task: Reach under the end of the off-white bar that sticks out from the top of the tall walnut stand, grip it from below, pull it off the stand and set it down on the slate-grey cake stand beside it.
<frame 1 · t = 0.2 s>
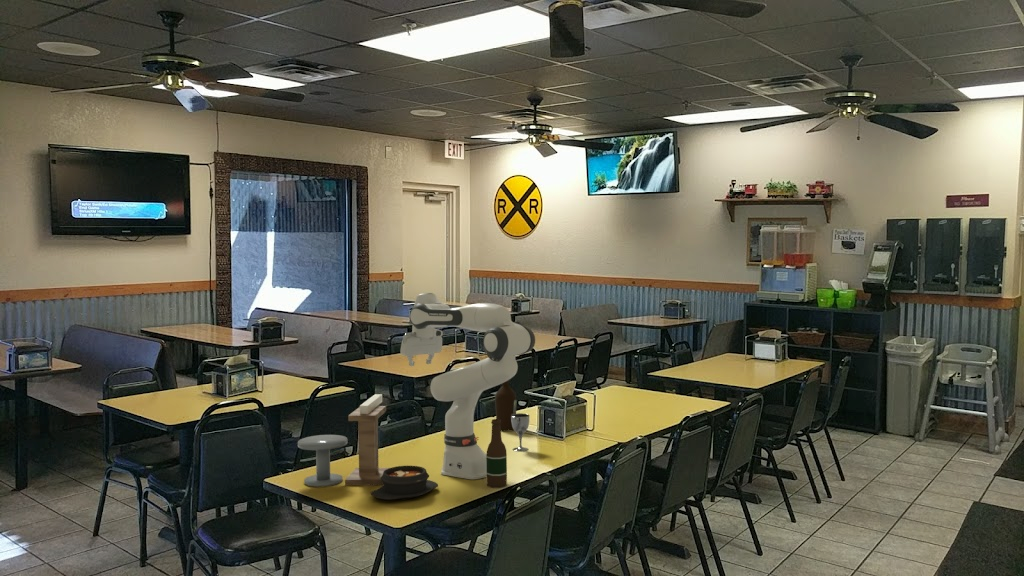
hand: (420, 364, 305), 40 cm above the table, tool pointing down, fingers open, 8 cm apart
bar: (371, 407, 285), point 26 cm above the table, touching walnut stand
casserole: (405, 495, 260), on the table
cake stand: (323, 481, 277), on the table
wine glass: (520, 449, 321), on the table
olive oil: (506, 429, 361), on the table
walnut stand: (369, 478, 280), on the table
beer bottle: (496, 485, 270), on the table
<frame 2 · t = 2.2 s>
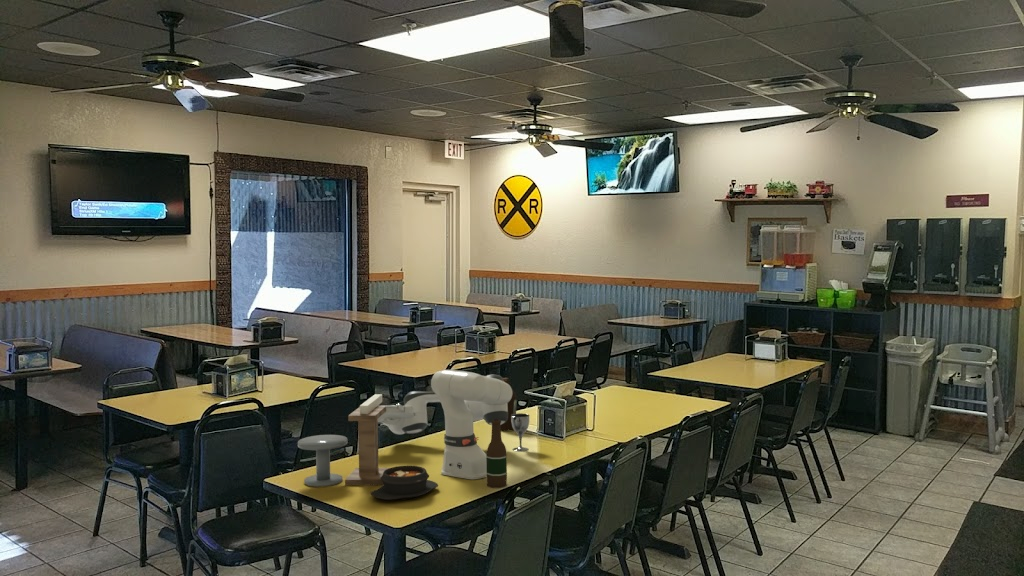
hand: (387, 405, 312), 21 cm above the table, tool pointing upward, fingers open, 8 cm apart
nothing on the table moved.
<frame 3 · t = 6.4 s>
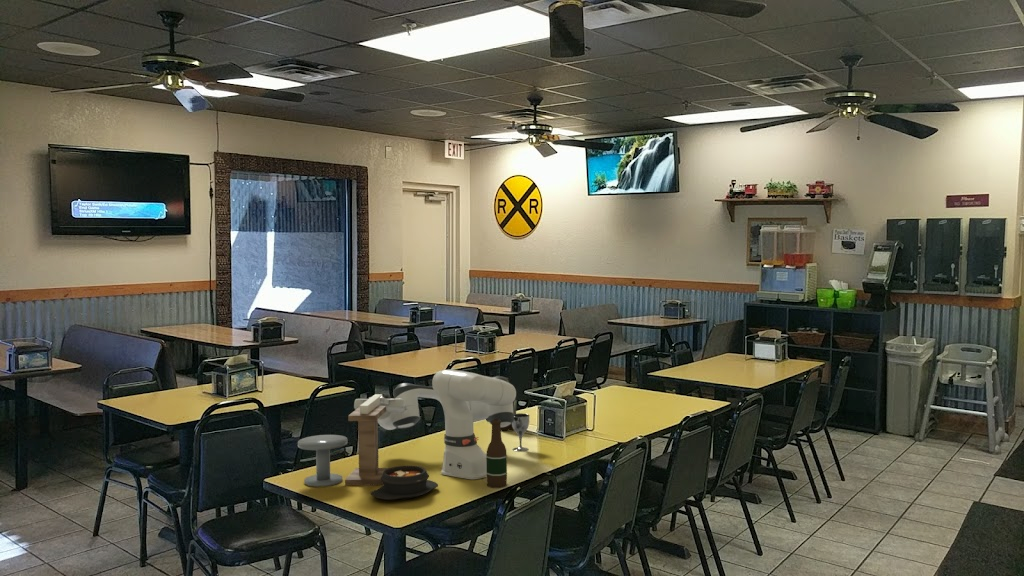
hand: (376, 398, 292), 28 cm above the table, tool pointing upward, fingers closed on bar, 3 cm apart
bar: (371, 407, 285), point 26 cm above the table, touching gripper, walnut stand
everything else where it was.
when the fingers open (19 cm above the table, at t = 15.9 s): bar drops 1 cm, resting on cake stand.
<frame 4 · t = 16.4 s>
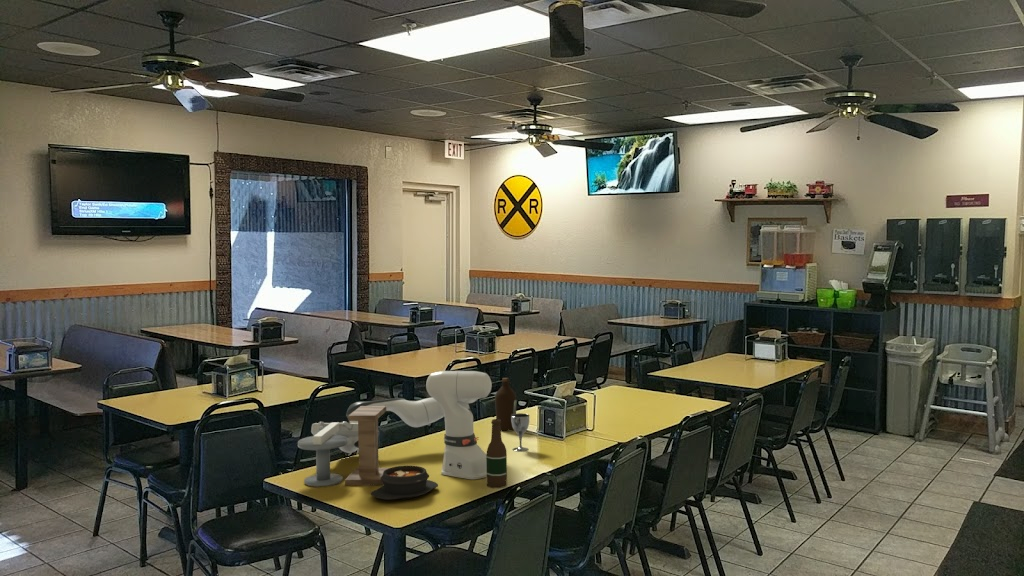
hand: (332, 423, 290), 19 cm above the table, tool pointing upward, fingers open, 8 cm apart
bar: (326, 436, 282), point 15 cm above the table, touching cake stand
everything else where it was.
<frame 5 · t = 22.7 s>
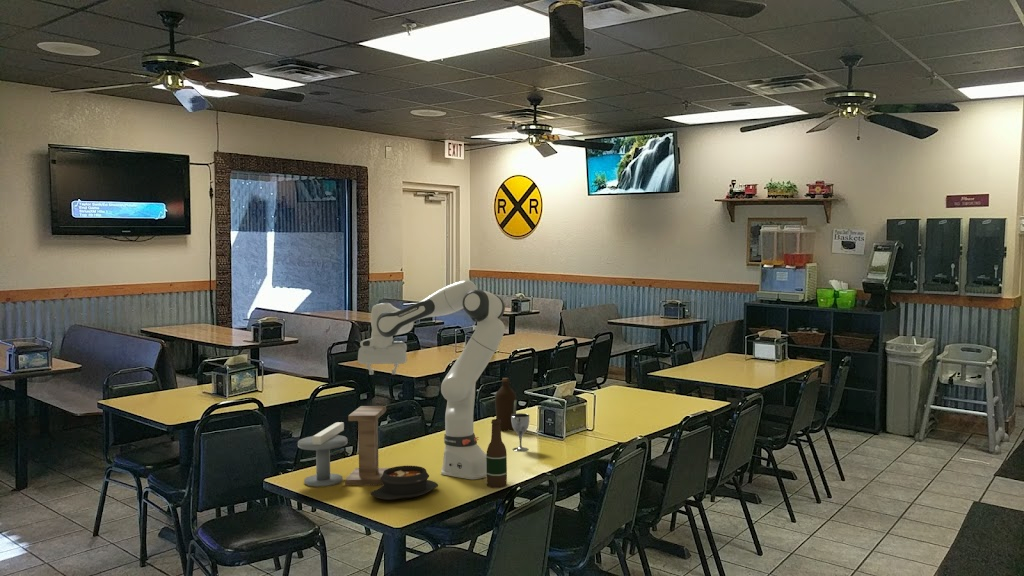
hand: (382, 374, 309), 35 cm above the table, tool pointing down, fingers open, 8 cm apart
at the end: bar inside the target area on the cake stand (1.3 cm from its centre), point 15.5 cm above the cake stand's base; bar touching cake stand; the gripper is holding nothing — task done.
